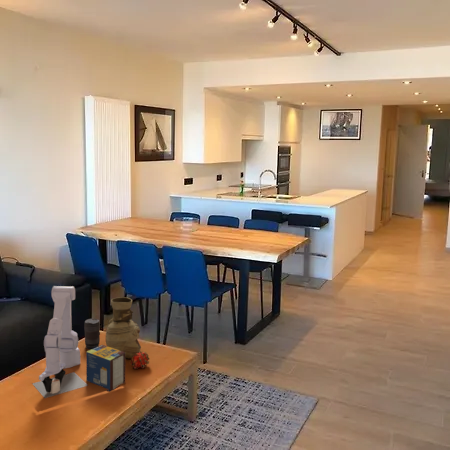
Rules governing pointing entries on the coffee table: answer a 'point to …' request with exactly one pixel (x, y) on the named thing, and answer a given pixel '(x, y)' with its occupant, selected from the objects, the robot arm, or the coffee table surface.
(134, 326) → the ceramic vessel
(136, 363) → the dragon fruit
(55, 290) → the robot arm
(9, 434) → the coffee table surface
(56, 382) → the cap
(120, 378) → the protein box
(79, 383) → the base
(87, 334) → the camera lens
